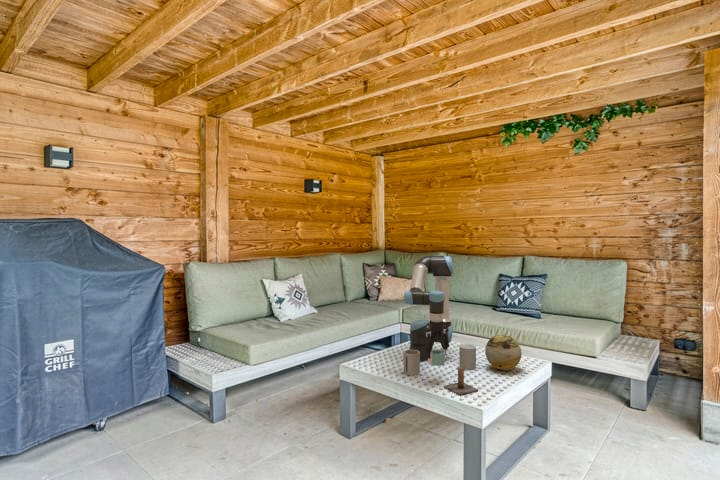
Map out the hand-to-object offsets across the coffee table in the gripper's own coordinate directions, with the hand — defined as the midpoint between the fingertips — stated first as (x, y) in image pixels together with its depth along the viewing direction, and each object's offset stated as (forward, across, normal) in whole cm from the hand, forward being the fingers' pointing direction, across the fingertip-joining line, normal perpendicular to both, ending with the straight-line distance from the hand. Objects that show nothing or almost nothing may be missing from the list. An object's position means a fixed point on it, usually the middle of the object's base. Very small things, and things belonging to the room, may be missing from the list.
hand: (436, 362), depth 221 cm
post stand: (+10, +3, -15) cm, 18 cm away
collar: (0, 0, 0) cm, 0 cm away
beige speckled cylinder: (+11, +30, +8) cm, 34 cm away
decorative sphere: (+11, +45, -5) cm, 47 cm away
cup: (+11, -4, +17) cm, 21 cm away
